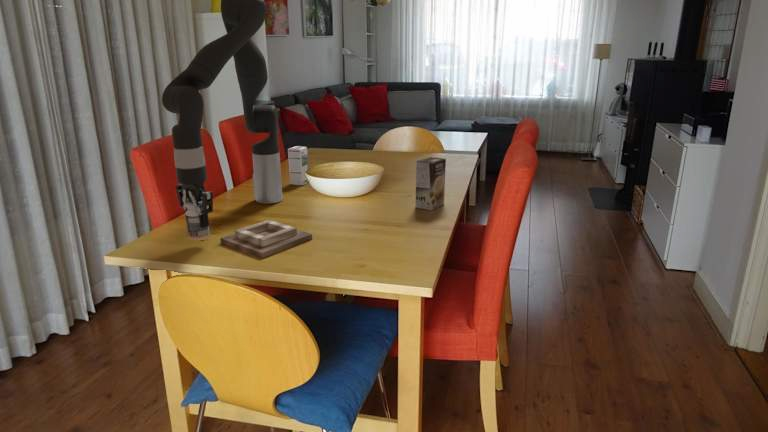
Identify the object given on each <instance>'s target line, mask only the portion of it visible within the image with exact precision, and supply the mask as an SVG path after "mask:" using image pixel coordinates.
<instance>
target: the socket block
mask: <svg viewBox="0 0 768 432" xmlns="http://www.w3.org/2000/svg"><path fill="white" fill-rule="evenodd" d="M234 232H235V233H232V234H229V235H226V236H223V237H220V239H219V240H220V244H222V245H225V246H228V247H231V248H232V249H236V250H239V251H241V252H244V253H246V254H250V255H253V256H255V257H258V258H261V259H265V258H267V257H270V256H272V255H275V254H278V253H280V252H283V251H285V250H287V249H291V248H293V247H295V246H297V245H300V244H303V243H306V242H308V241H310V240H313V233H311V232H307V231H303V230H300V229H297V227H295V226H291V225H288V224H286V223H285V224H284V223H281V222H279V221H278V222H277V221H275V220H270V219H267V220H264V221H260V222H258V223H255V224H251V225H247V226H245V227H242V228H239V229H236V230H235V231H234Z"/></svg>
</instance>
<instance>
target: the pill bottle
mask: <svg viewBox="0 0 768 432" xmlns="http://www.w3.org/2000/svg"><path fill="white" fill-rule="evenodd" d="M198 203H202V201H200V202H198ZM186 207H187V209H188V210H187V211H186V210H185V214H184V215H185V221H186V222H185V224H186V229H187V236H188V238H189V239H190V240H193V241H199V240H204V239H208V238H209V237H210V236H211V228H210V225H209V226H208V227H205V228H201V227H200V220H199V213H198V210H197V208H196V207H195V206H194V204H193V202H192V201H189V202H187V203H186ZM201 209H202V206H201ZM208 220H209V218H208ZM209 221H210V220H209Z"/></svg>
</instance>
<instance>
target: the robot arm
mask: <svg viewBox="0 0 768 432" xmlns="http://www.w3.org/2000/svg"><path fill="white" fill-rule="evenodd" d="M267 10H268V8H267V4H266V2H265V0H220V13H221V19H222V23H223V26H224V29H225V31H226V34H224V35H222V36H221V37H218V38H217V39H214V40H212V41H210V42H209V43H206V44H205V45H204V46H203V47H202V48H201V49H199V51H198V52H197V53H196V54H195V56H194V57H193V59H192V60H191V61H190V63H189V64H188V66H187V67H186V68H185V69H184V70H183V71H182V72H180V73H179V74H178V75H177V76H176V77H175V78H174V79H173V80H171V81H170V82H169V83H168V84H167V85H166V87H165V89H164V90H163V91H162V95H161V104H162V106H163V107H164V109H165V110H166V111H167V112H169V113H170V114H171V113H172V114H177V115H179V116H178V117H179V119H178V123H177V124H175V125H173V127H172V129H171V137H172V145H173V159H174V166H175V173H176V174H175V175H176V181H177V183H178V184H177V185H175V191H176V194H177V200H178V204H179V206H180V207H181V208H182V209H183V210H184V211H185V212H186V211H187V210H188V209H187V207H186V203H187V202H189V201H192V202H193V204H194V206H195V207H196V208H197V210H198V213H199V220H200V227H201V228H205V227H208V226H209V227H210V220H208V219H209V214H210V213H213V211H214V195H213V191H212V190H209V191H207V190H206V188H205V185H204V183H205V182H206V181H207V180H208V174H207V165H206V156H205V151H204V147H203V139H202V131H201V130H202V126H203V115H204V110H205V109H204V99H203V96H202V94H201V92H200V91H201V90H206V89H208V88H209V87H211V85H212V84H213V83H214V81H215V80H216V79H217V78H218V76H219V74H220V73H221V71H222V70H223V69H224V67H225V66H226V64H227V63H228V62H229V61H230V59H232V57H233V60H234V67H235V68H234V69H235V73H236V78H237V82H238V85H239V91H240V94H241V101H242V109H243V117H244V123H245V124H244V125H245V127H246V129H247V131H248V132H250V133H253V134H263V133H264V134H268V136H267V137H266V138H265V139H263V140H261V141H257V142H255V143H253V144H252V145H251V153H252V154H251V155H252V166H253V173H252V185H253V197H254V198H253V199H254V200H255V201H256V202H257V203H259V204H265V205H267V204H275V203H280V202H282V201H283V200H284V199H283V185H282V171H281V170H282V169H281V156H280V145H279V144H280V143H279V141H280V140H279V114H278V109H277V107H276V106H275V105H274V104H267V105H266V104H261V105H260V104H259V105H256V104H255V101H256V100H257V98H258V97H259V95H260V94H261V92H262V91H263V90H264V88H265V86H266V85H267V82H268V79H269V78H268V77H269V75H268V69H267V62H266V59H265V57H264V54H263V53H262V51H261V49H260V48H259V47H258V44H256V42H255V41H254V39H253V38H252V37H253V36H254V35H255V34H257V32H258V31H259V30H260V29H261V27H263V25H264V24H265V20H266V16H267V13H268V11H267ZM200 201H202V203H198V202H200ZM201 206H202V209H201Z"/></svg>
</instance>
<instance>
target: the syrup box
mask: <svg viewBox="0 0 768 432" xmlns="http://www.w3.org/2000/svg"><path fill="white" fill-rule="evenodd" d="M287 156H288V169H289V170H288V171H289V172H288V173H289V183H290V185H292V184H293V186H302V185H303V186H304V185H306V184H308V183H309V182H308V181H307V178H306V176H305V172H306V171H307V170H309V171H310V169H309V156H308V147H307V146H301V145H296V146H293V147H289V148H287ZM307 182H308V183H307Z"/></svg>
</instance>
